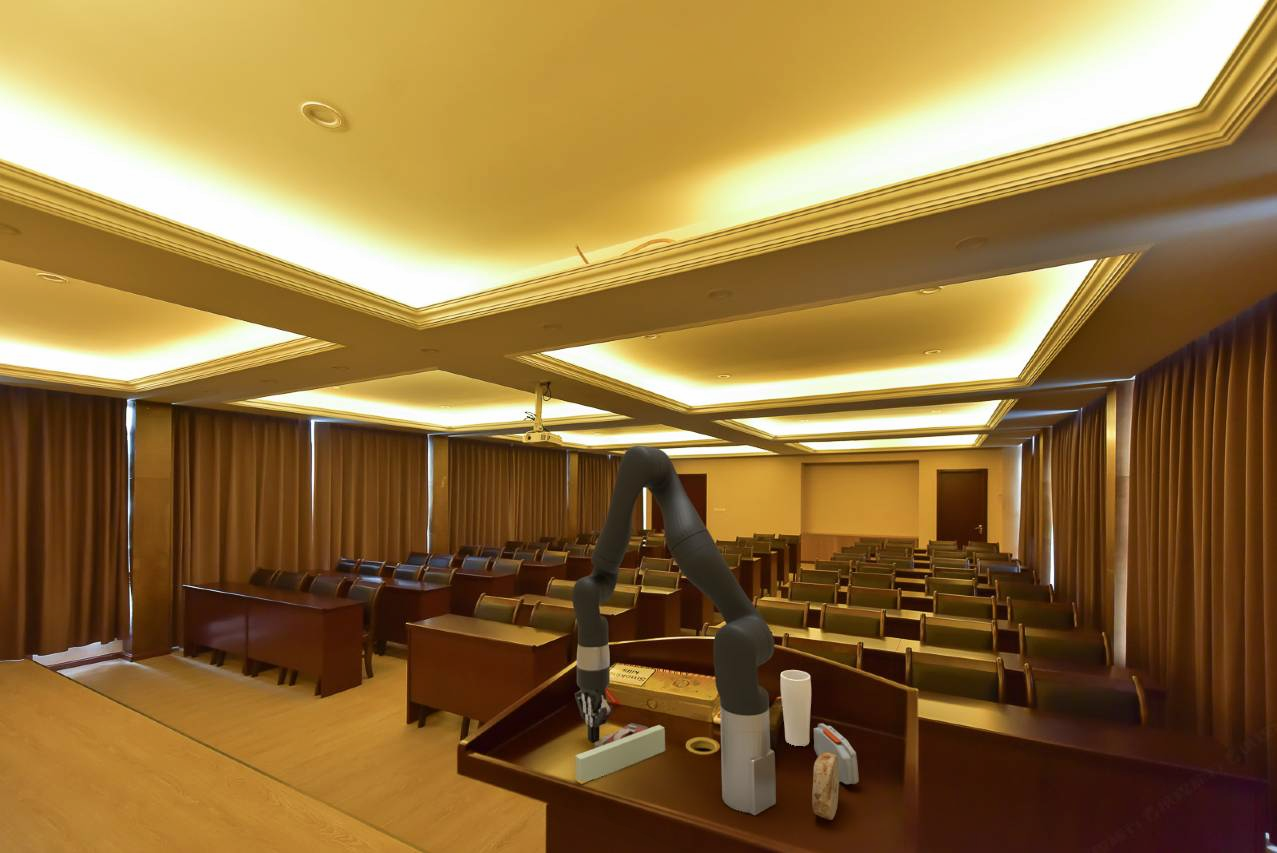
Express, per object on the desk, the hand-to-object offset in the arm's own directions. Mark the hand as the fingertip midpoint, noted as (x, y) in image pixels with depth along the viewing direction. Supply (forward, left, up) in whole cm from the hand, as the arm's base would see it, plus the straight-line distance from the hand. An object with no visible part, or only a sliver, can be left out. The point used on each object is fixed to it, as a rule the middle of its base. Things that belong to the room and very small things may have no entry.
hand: (593, 741), depth 132 cm
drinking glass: (-28, -37, -1) cm, 47 cm away
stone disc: (-48, -19, -1) cm, 52 cm away
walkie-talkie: (-5, -3, -2) cm, 6 cm away
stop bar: (-11, 0, -1) cm, 11 cm away
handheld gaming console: (-41, -32, -1) cm, 52 cm away
